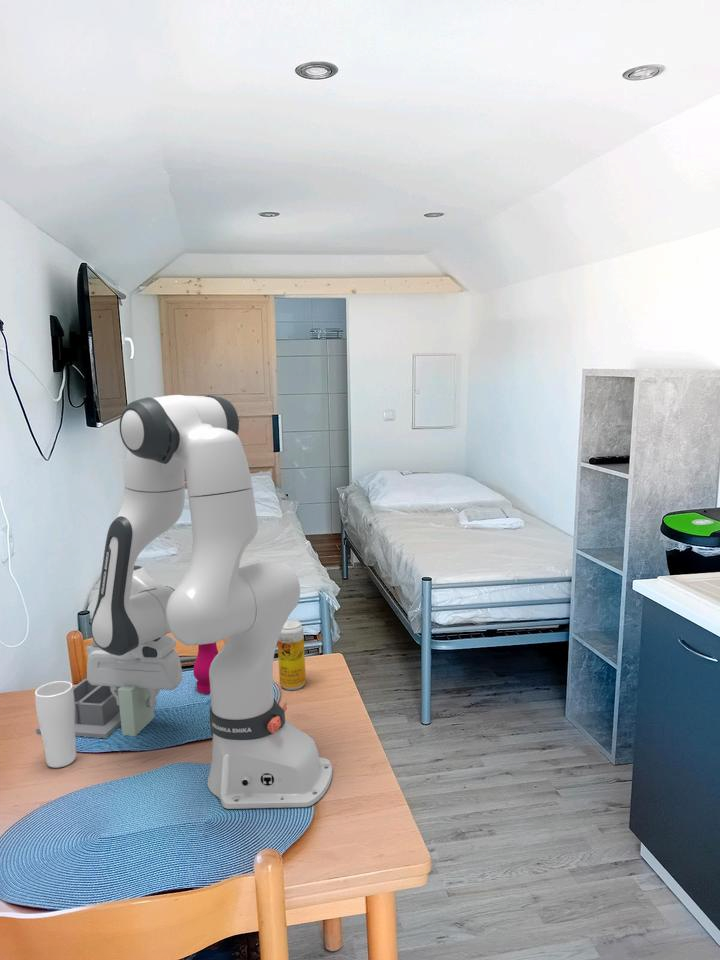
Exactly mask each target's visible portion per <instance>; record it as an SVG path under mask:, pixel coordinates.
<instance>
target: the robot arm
mask: <svg viewBox="0 0 720 960" xmlns="http://www.w3.org/2000/svg"><path fill="white" fill-rule="evenodd" d="M239 427H240V419H239V415H238V412H237V409H236V408H235V406H234V405H233V404H232V403H231V402H230V400H228V399H226V398H223V397H221V396H216V395H204V396H201V395H183V394H171V395H170V394H169V395H163V396H156V397H143V398H139V399H137V400H134V401H132V402H130V403H128V404H127V405H126V406H125V407H124V409H123V410H122V413H121V415H120V418H119V434H120V438H121V440H122V443H123V445H124V446H125V448H126V449H127V451H126V457H125V464H124V465H125V466H124V491H123V492H124V493H123V497H122V502H121V506H120V509H119V510H118V511H119V512H118V514H117V515H116V517H115V519H114V520H113V521H112V523H110V525H109V528H108V530H107V534H106V540H105V544H104V545H105V546H104V553H103V559H102V566H101V574H100V576H101V577H100V581H99V588H98V589H99V590H98V596H97V601H96V605H95V608H94V611H93V615H92V619H91V621H90V622H91V623H90V631H91V638H92V639H93V641H92V642H91V643H89V644H88V645H87V646H86V657H87V660H86V661H87V662H86V663H87V664H86V679H87V680H88V682H89V683H90V684H91V685H97V686H110V691H111V692H112V694H113V695H114V696H115V698H116V700H117V705H119V696H118V689H119V688H120V687H122V686H123V685H133V686H137V688H145V689H149V692H150V693H152V695H151V696H150V697H149V698H148V699H146V707H149V708H153V709H155V707H156V705H157V697H158V695H159V693H160V691H161V690H165V691H173V690H175V689H176V688H177V687H178V686H179V685H180V684H181V682H182V680H183V670H182V663H181V658H180V656H179V655H180V654H179V653H178V652H177V650H175V647H176V646H177V640H178V642H180V643H182V645H185V646H188V647H189V646H190V647H191V646H193V647H194V646H198V645H203V644H209V643H215V642H216V643H217V642H218V643H219V642H221V641H223V640H226V641H225V643H224V645H223V647H222V648H221V649H220V651H218V654H217V655H216V656H215V658H214V659H213V661H212V663H211V666H210V670H209V679H210V693H211V694H210V704H211V705H210V707H209V709H208V710H209V728H210V729H209V730H210V735H211V737H212V748H211V749H212V751H211V752H212V753H211V761H210V770H209V773H208V778H207V788H208V790H209V791H210V792H211V794H212V795H214V796H216V797H217V798H218V799H219V801H220V803H221V805H222V807H223V808H225V809H227V810H234V809H235V810H237V809H238V810H239V809H240V810H243V809H270V808H271V809H276V808H277V809H278V808H279V809H280V808H281V809H282V808H307V807H311V806H312V805H314V804H315V803H317V802H319V801H320V800H321V799H322V797H323V796H324V795H325V793H326V792H327V791H328V789H329V786H330V784H331V782H332V779H333V766H332V763H331V761H330V760H329V759H328V758H325V757H321V756H320V755H319V750H318V747H317V745H316V741H315V740H314V738H313V737H312V736H310V735H308V734H307V733H305V732H304V731H303V730H301V729H300V728H298V727H296V726H295V725H293V724H292V723H291V722H289V721H288V720H287V719H286V715H285V714H286V713H287V712H286V711H287V710H288V709H287V708H288V707H287V702H285V703H283V706H281V705H280V704H278V702H277V700H276V699H275V698H274V673H273V672H274V659H275V658H274V657H275V653H276V649H277V646H278V639H279V636H280V633H281V630H282V628H283V626H284V624H285V622H286V621H288V620H287V619H288V618H289V617H290V615H291V613H292V612H293V611H294V610H295V608H296V607H297V606H298V603H299V601H300V598H301V597H300V596H301V587H300V581H299V578H298V576H297V574H296V572H295V571H294V570H293V569H292V568H291V567H290V566H289V564H287V563H284V562H282V561H265V562H264V561H263V562H262V561H261V562H256V563H252V564H249V565H245V566H241V567H240V564H241V559H242V556H243V553H244V552H245V550H246V548H247V547H248V546H249V545H250V544H251V543H252V542H253V541H254V539H255V537H256V535H257V533H258V529H259V524H258V519H257V518H258V517H257V510H256V504H255V503H256V502H255V497H254V496H255V495H254V488H253V482H252V475H251V471H250V467H249V463H248V459H247V456H246V452H245V450H244V447H243V443H242V440H241V439H240V437H239V436H238V435H239V429H240V428H239ZM185 477H186V482H185ZM185 485H186V487H185ZM186 488H187V497H188V504H189V510H190V521H191V529H192V530H191V531H192V532H191V533H192V547H191V553H190V557H189V560H188V561H189V562H188V565H187V567H186V570H185V572H184V574H183V575H184V576H183V577H182V579H181V580H180V581H179V584H178V585H177V586H176V588H175V589H174V588H172V587H171V586H168V585H163V584H161V583H159V582H158V581H157V580H155V579H153V578H152V577H150V576H149V574H148V572H147V570H146V569H145V567H143V566H141V565H136V561H137V559H138V557H139V556H140V554H141V552H143V551H144V549H145V548H146V547H148V545H149V544H151V543H152V542H153V541H155V539H157V538H158V537H160V536H161V535H163V534H164V533H165V532H168V530H170V529H171V528H172V527H173V526H175V524H176V523H177V522H178V520H179V519H180V518H181V516H182V514H183V511H184V507H185V500H186V499H185V498H186V494H185V493H186V491H185V490H186ZM169 634H172V635H173V636H171V635H169Z"/></svg>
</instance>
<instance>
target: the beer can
mask: <svg viewBox="0 0 720 960" xmlns="http://www.w3.org/2000/svg"><path fill="white" fill-rule="evenodd" d="M304 636H305V635H304V627H303V625H302V623H301V622H300V621H299V620H293V619H292V620H291V619H290V620H286V622H285V624H284V626H283V628H282V630H281V633H280V636H279V639H278V642H277V655H278V656H277V657H278V677H279V685H280V687H282V688H283V689H284V690H287V691H296V690H299V689H302V688H303V687H304V686H305V684H306V682H307V679H306V678H307V677H306V676H307V675H306V657H305V640H304V639H305V638H304Z"/></svg>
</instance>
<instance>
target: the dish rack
mask: <svg viewBox="0 0 720 960" xmlns="http://www.w3.org/2000/svg"><path fill="white" fill-rule="evenodd" d="M73 691H74V699H75V736H85V737H84V738H87V737H94V738H93V739H99V738H106V737H107V738H109V737H108V736H109V735H110V734H111V733H112V732H113V731H114V730H115V729H116V728H117V729H118V728H120V727H121V717H120V707H119V705H117V700H116V698H115V696H114V695H113V694H112V692H111V691H110V686H97V685H91V684H90V683H89V682H88V680H87V678H84V679H82V680H81V681H80V682H79V683H77V684H76V685H75V686H73ZM117 729H116V730H117ZM116 730H115V731H116ZM35 731H36V734H40V735H41V731H40V726H39V725H38V727H37V728H35ZM115 731H114V732H115ZM114 732H113V733H114ZM113 733H112V734H113ZM112 734H111V735H112ZM111 735H110V736H111ZM96 737H98V738H96ZM107 738H106V739H107Z"/></svg>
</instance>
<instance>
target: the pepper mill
mask: <svg viewBox="0 0 720 960" xmlns="http://www.w3.org/2000/svg"><path fill="white" fill-rule="evenodd" d="M217 645H218V644H217V642H215V643H209V644H203V645H197V647H198V649H197V650H198V651H197V655H196V659H195V662H194V664H193V672H192V674H193V677H194V678H195V679H196V680H197V681H196V683H195V684H196V691H197V693H200V694H202V693H203V694H204V695H207V694H209V695H211V694H210V679H209V670H210V666H211V663H212V661H213V659H214V658H215V656H216V655H217V654H218V653H219V650H218V647H217Z"/></svg>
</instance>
